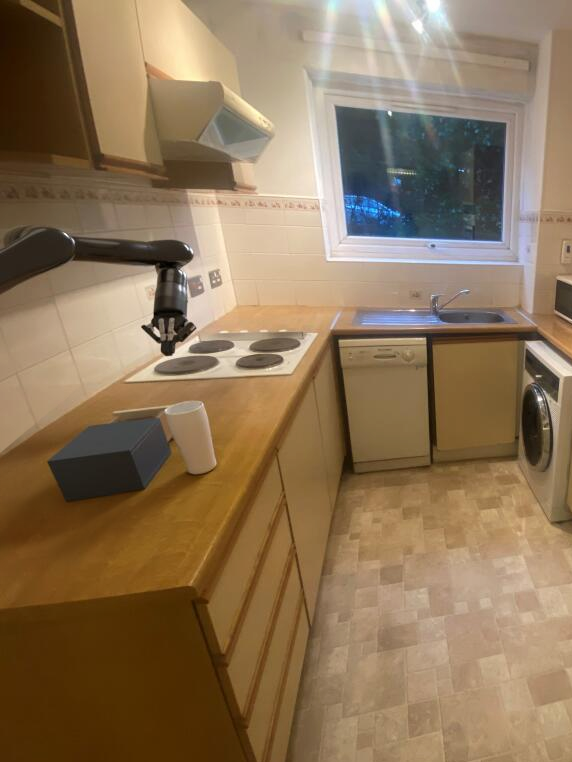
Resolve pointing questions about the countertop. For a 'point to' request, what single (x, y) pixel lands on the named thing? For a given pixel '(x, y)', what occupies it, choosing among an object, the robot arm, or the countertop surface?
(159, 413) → the drawer
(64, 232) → the robot arm
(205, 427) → the drinking glass
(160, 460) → the dark grey box
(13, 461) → the countertop surface
